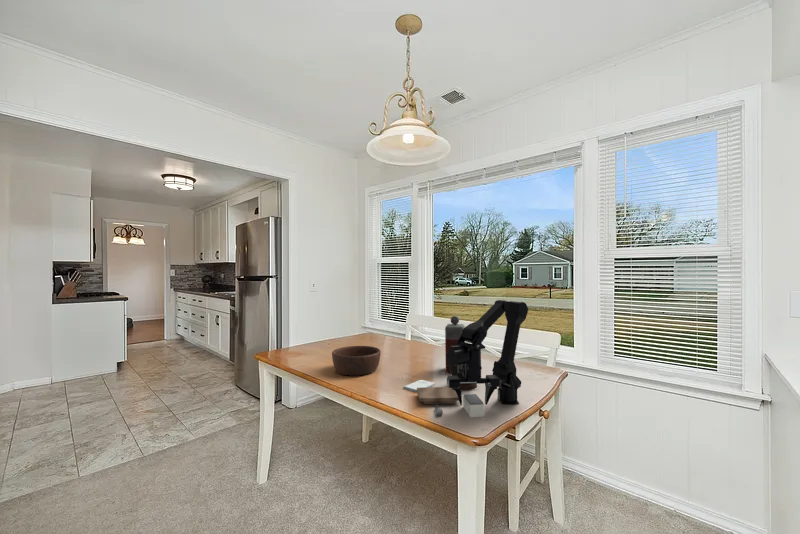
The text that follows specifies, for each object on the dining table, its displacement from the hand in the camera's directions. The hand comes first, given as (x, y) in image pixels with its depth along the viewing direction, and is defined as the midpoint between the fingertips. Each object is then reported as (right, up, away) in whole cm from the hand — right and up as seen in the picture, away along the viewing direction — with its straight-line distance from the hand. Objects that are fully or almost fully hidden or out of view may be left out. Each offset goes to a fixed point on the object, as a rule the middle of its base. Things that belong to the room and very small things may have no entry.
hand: (473, 404), depth 126 cm
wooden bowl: (-49, -4, +53) cm, 72 cm away
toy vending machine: (+2, -3, +52) cm, 52 cm away
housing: (0, -3, 0) cm, 3 cm away
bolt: (-13, -3, -1) cm, 13 cm away
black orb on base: (+2, -3, +28) cm, 28 cm away
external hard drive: (-18, -4, +27) cm, 33 cm away
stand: (-12, -3, +12) cm, 17 cm away
